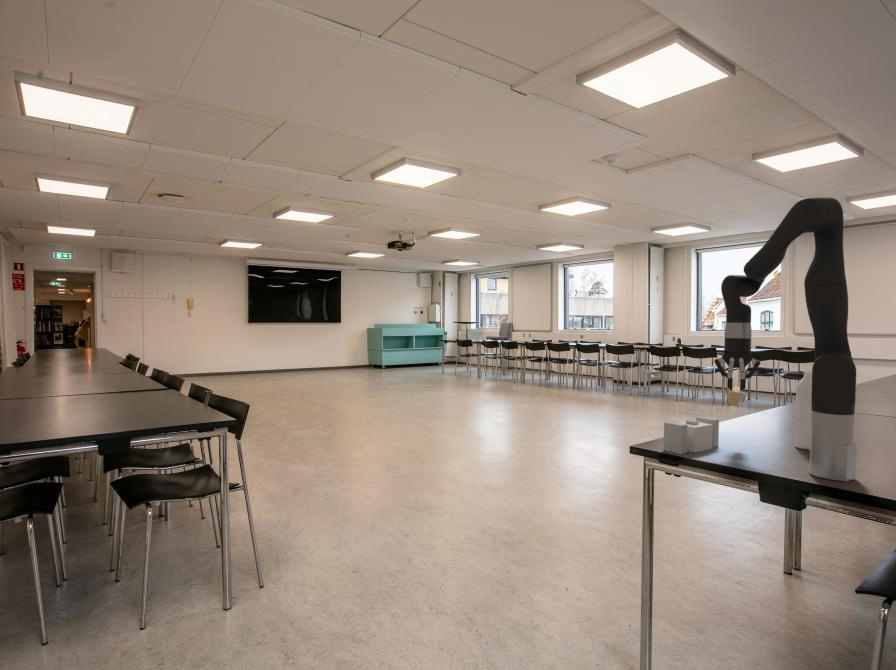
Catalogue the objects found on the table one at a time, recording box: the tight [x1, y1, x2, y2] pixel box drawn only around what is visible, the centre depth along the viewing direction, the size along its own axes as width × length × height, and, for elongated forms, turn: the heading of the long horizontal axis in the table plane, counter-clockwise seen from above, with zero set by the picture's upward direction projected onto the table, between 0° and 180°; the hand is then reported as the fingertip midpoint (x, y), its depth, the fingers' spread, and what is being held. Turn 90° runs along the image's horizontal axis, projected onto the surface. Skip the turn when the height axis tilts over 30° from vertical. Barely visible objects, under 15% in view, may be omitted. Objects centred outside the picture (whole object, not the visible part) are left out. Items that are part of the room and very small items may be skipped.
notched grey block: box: [663, 416, 720, 455], centre depth 166 cm, size 8×21×9 cm, turn 123°
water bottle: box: [793, 371, 812, 451], centre depth 169 cm, size 9×6×25 cm
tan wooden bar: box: [725, 385, 746, 407], centre depth 166 cm, size 5×20×4 cm, turn 147°
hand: (736, 390), depth 166 cm, fingers closed on tan wooden bar, 2 cm apart
